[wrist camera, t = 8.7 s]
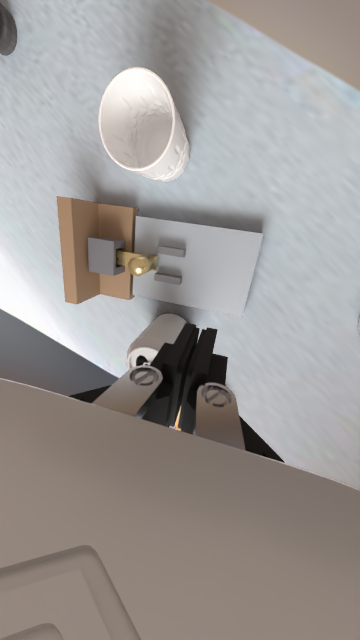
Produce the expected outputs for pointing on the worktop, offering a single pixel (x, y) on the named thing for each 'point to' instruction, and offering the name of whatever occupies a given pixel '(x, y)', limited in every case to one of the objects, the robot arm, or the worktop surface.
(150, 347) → the can
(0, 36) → the beverage cup
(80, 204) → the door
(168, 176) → the white cup
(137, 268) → the bolt
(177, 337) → the robot arm
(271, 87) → the worktop surface
